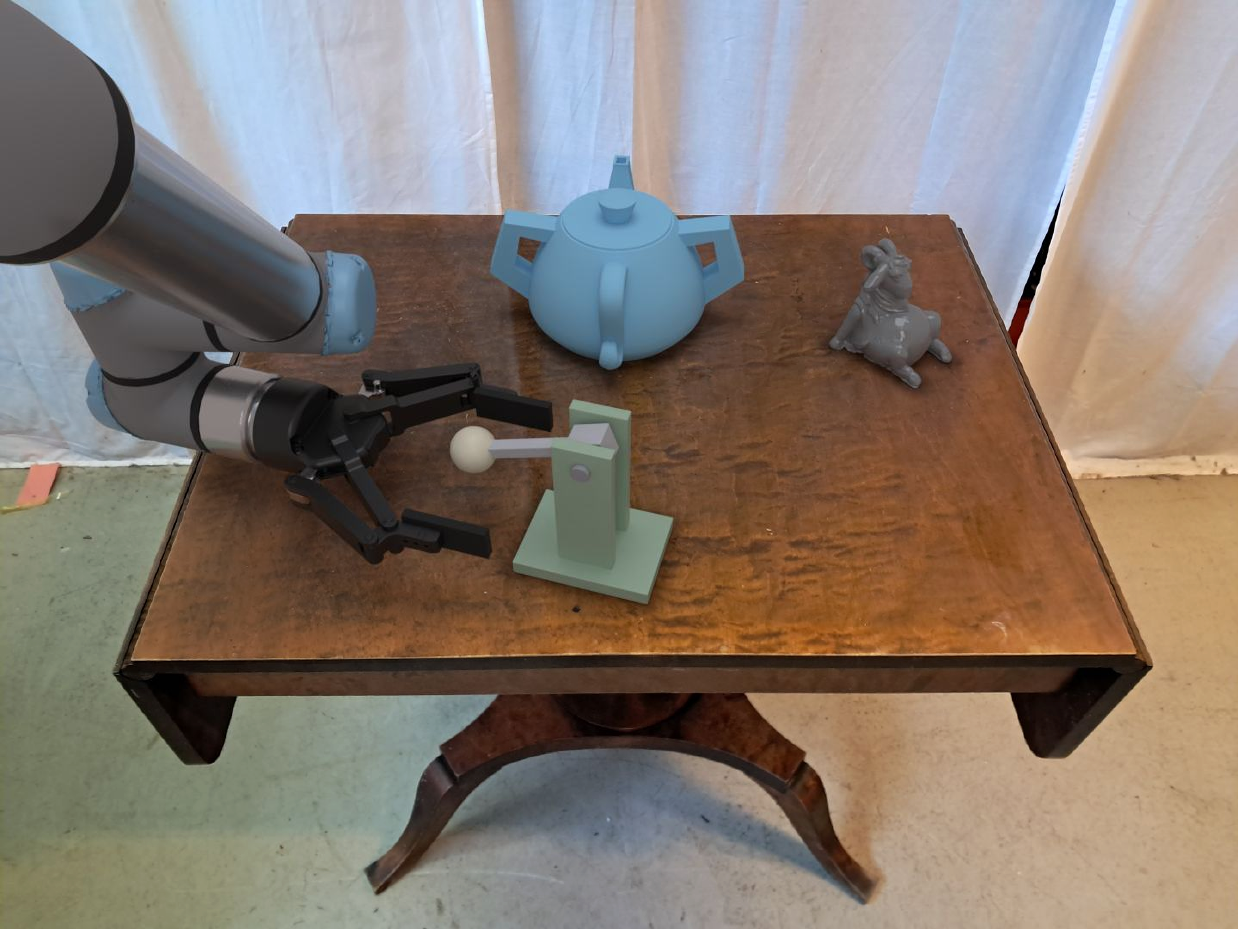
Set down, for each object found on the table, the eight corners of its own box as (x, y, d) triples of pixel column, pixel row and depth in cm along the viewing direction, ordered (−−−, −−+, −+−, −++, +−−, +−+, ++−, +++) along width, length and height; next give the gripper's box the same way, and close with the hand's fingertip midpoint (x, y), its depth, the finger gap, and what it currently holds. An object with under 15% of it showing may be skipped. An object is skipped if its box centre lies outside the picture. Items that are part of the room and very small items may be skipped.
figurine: (910, 394, 89) (939, 303, 81) (825, 344, 94) (844, 254, 86) (959, 354, 93) (991, 263, 85) (874, 308, 98) (897, 218, 90)
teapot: (744, 323, 96) (758, 202, 86) (599, 407, 88) (595, 285, 78) (623, 241, 106) (622, 125, 96) (481, 310, 98) (465, 190, 88)
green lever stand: (513, 572, 75) (497, 451, 65) (547, 498, 80) (537, 376, 70) (647, 605, 73) (652, 485, 63) (672, 527, 78) (681, 406, 68)
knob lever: (454, 483, 72) (434, 449, 70) (472, 450, 75) (453, 417, 72) (610, 481, 67) (594, 444, 65) (624, 446, 69) (609, 409, 67)
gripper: (356, 359, 87) (574, 404, 83) (202, 568, 71) (464, 637, 67) (339, 293, 82) (571, 338, 78) (167, 503, 65) (450, 573, 61)
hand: (522, 476), depth 72 cm, fingers open, 13 cm apart
